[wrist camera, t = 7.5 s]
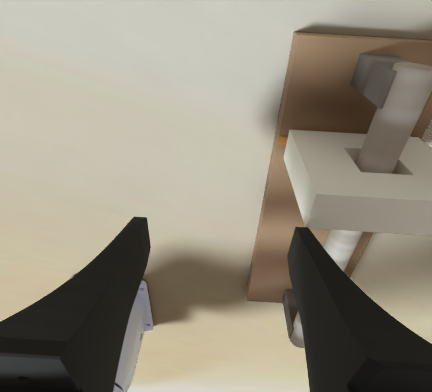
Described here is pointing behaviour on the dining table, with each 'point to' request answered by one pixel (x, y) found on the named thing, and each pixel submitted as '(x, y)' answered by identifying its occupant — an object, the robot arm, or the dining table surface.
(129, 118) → the dining table surface
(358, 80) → the slider rail
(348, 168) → the collar
